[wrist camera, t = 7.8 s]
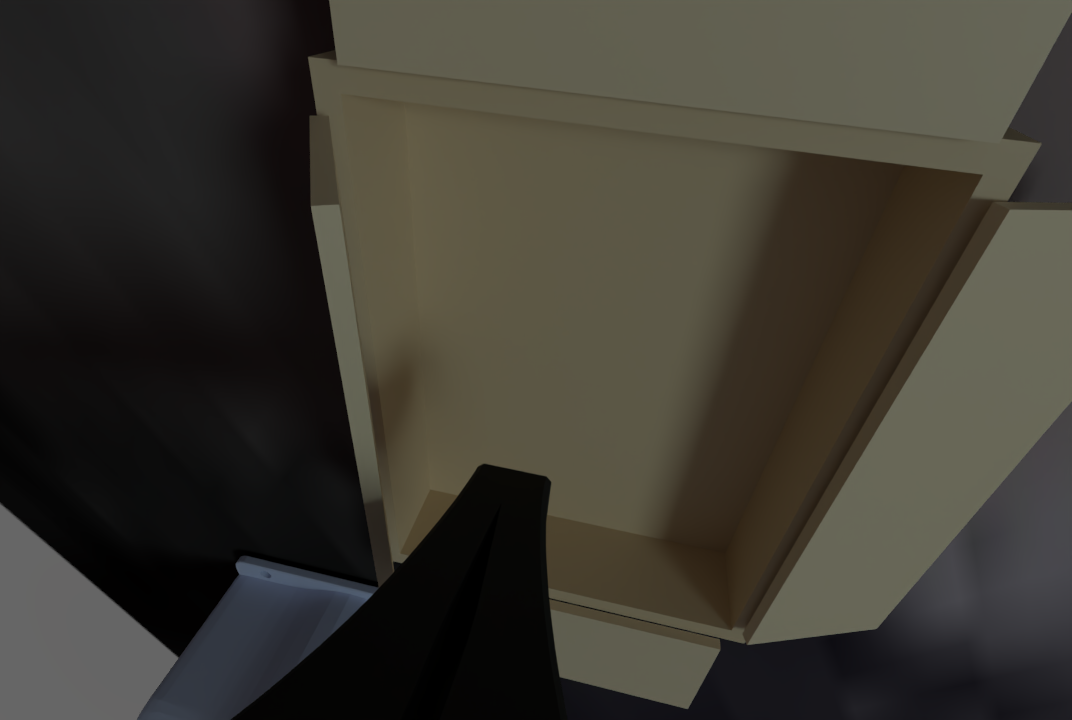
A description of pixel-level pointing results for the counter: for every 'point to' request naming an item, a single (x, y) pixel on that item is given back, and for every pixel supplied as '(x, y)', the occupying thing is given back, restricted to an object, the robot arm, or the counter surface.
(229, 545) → the counter surface
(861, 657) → the counter surface
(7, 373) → the counter surface
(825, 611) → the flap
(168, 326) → the counter surface
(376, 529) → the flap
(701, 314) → the carton
